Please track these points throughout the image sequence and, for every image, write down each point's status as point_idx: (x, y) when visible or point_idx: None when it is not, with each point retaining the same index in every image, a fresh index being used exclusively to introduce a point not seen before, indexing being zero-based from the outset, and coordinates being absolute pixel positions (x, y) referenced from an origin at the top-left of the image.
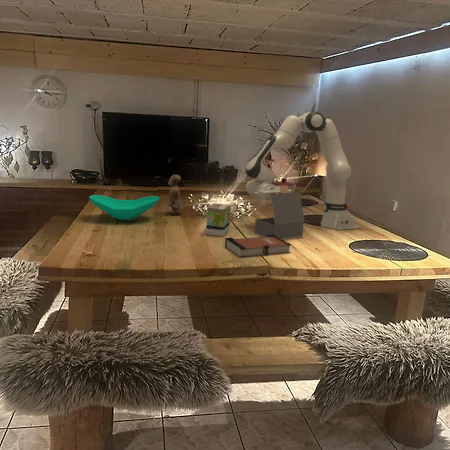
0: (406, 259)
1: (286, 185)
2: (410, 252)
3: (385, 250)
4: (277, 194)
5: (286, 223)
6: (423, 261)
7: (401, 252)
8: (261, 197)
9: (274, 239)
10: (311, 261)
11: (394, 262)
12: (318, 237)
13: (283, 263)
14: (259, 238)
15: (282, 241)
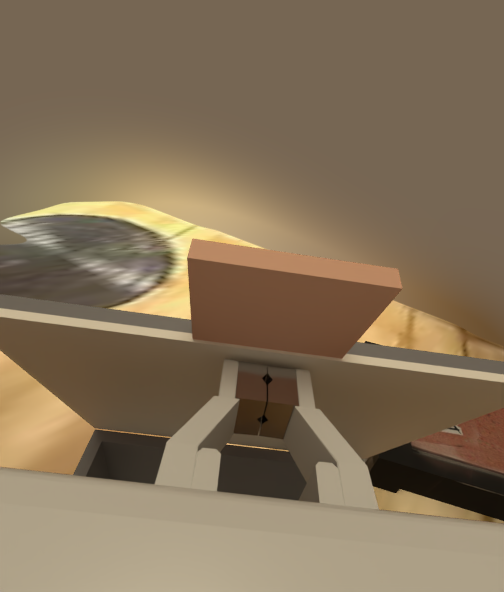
0: (131, 227)
1: (231, 245)
2: (58, 229)
3: (83, 253)
4: (423, 357)
5: None
6: (119, 215)
7: (74, 236)
8: None
9: None
10: None
11: (174, 233)
12: (55, 422)
13: (421, 328)
14: (475, 456)
15: None
